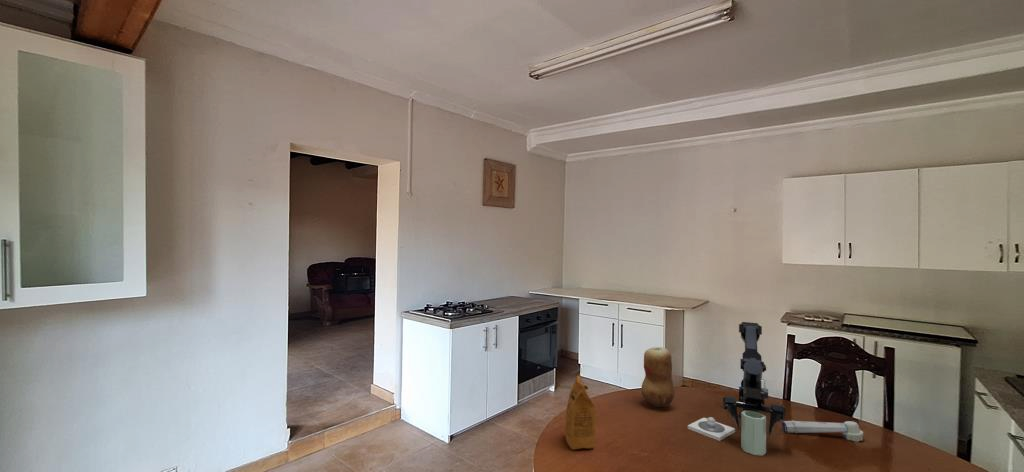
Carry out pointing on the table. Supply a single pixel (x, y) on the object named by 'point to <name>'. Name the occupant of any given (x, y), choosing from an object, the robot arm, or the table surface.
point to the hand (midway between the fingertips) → (753, 431)
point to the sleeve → (753, 432)
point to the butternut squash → (658, 377)
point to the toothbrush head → (825, 428)
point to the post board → (711, 428)
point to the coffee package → (580, 418)
